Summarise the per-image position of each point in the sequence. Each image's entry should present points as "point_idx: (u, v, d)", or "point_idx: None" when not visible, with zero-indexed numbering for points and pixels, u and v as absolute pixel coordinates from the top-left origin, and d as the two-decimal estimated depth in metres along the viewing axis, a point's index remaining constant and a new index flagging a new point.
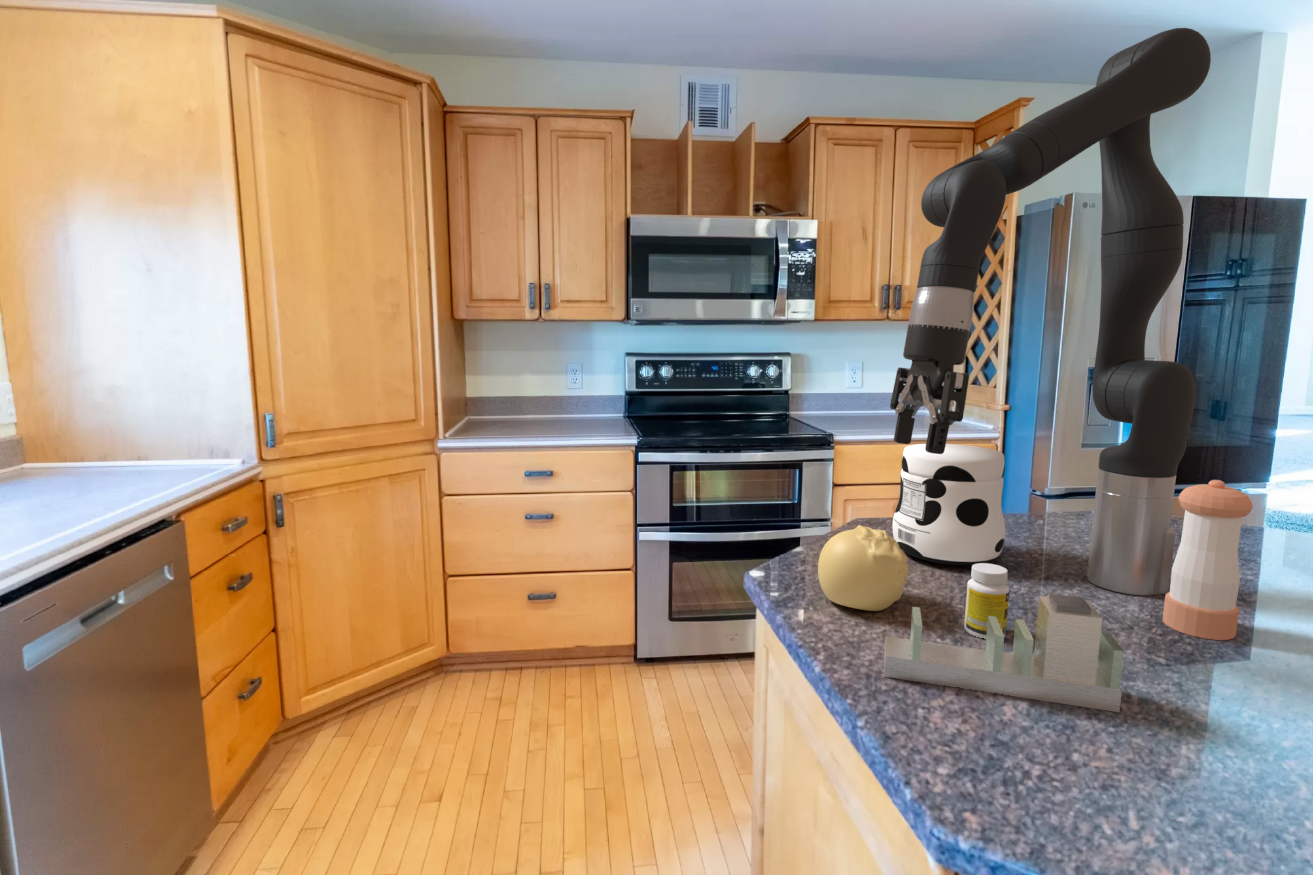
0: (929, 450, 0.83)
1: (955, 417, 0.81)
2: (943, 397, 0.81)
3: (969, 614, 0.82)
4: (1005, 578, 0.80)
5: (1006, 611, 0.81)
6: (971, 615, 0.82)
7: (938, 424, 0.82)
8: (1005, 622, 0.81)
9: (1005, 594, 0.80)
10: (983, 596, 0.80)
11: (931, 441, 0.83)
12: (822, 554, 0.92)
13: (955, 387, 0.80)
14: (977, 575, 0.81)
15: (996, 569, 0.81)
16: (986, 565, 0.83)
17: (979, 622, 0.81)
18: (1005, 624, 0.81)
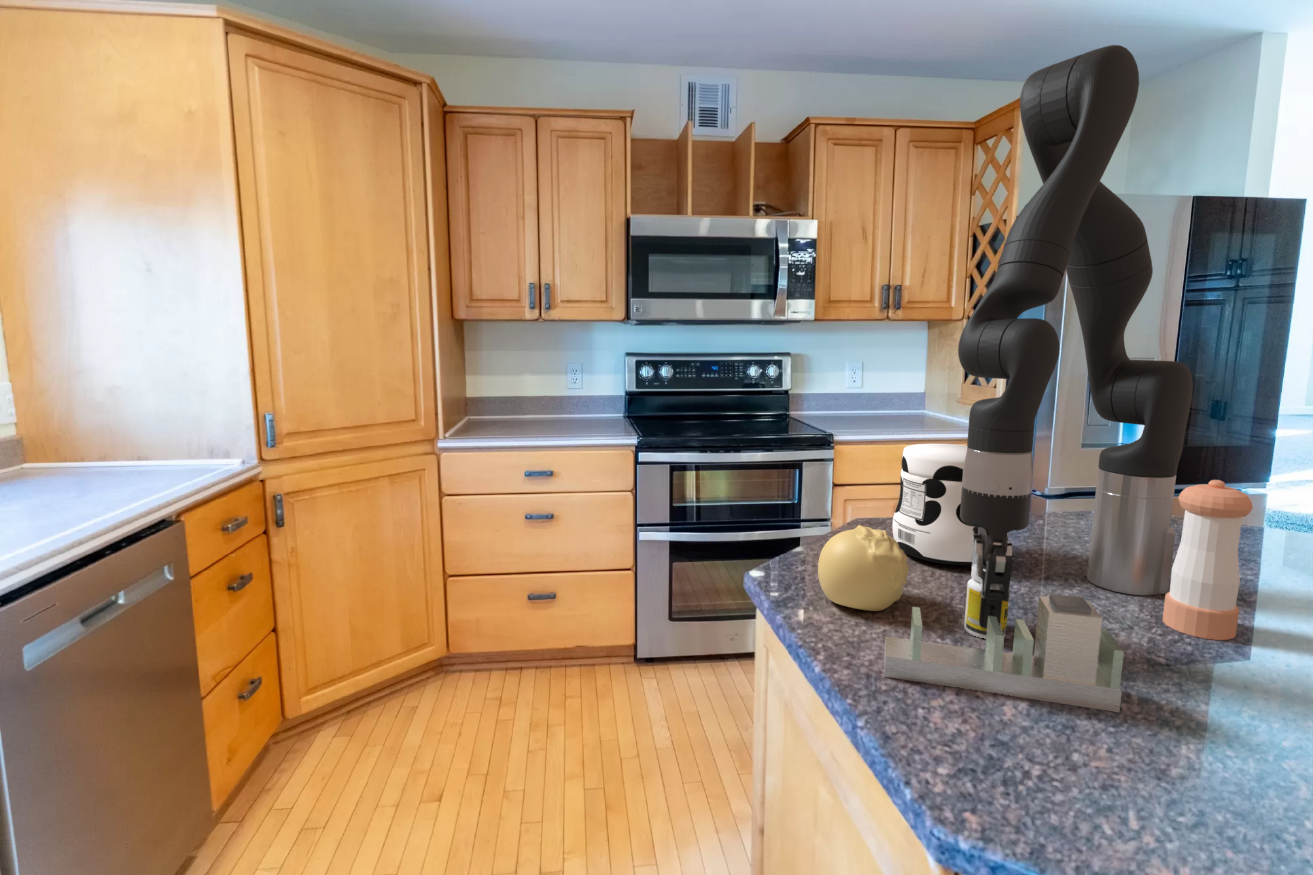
0: (981, 625, 0.80)
1: (998, 598, 0.77)
2: (985, 577, 0.77)
3: (969, 614, 0.82)
4: None
5: (1006, 611, 0.81)
6: (971, 615, 0.82)
7: (986, 600, 0.79)
8: (1005, 622, 0.81)
9: None
10: None
11: (982, 616, 0.80)
12: (822, 554, 0.92)
13: (996, 572, 0.76)
14: None
15: None
16: None
17: None
18: (1005, 624, 0.81)
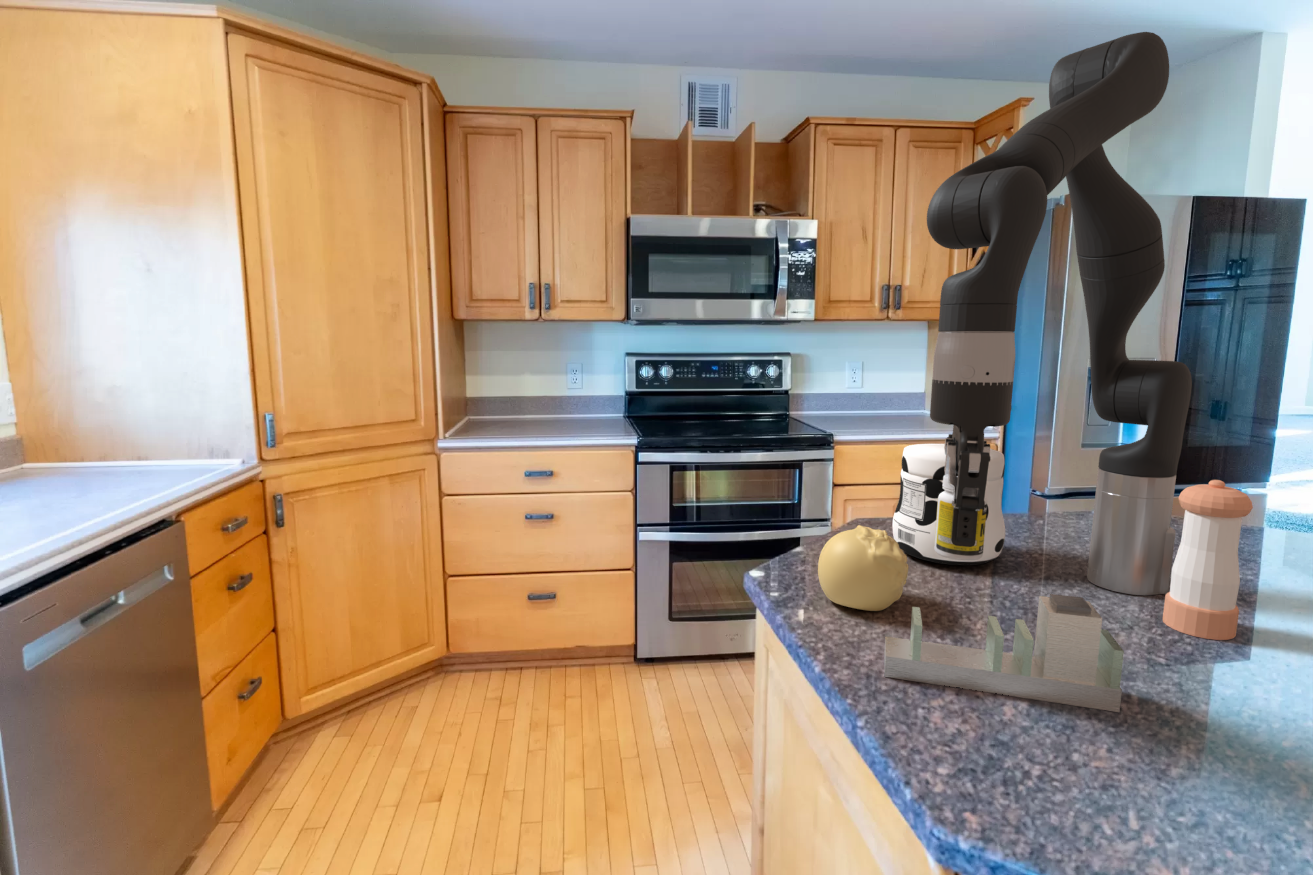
0: (953, 542, 0.68)
1: (972, 506, 0.64)
2: (957, 480, 0.65)
3: (939, 532, 0.70)
4: None
5: (982, 526, 0.68)
6: (941, 533, 0.69)
7: (959, 511, 0.66)
8: (982, 540, 0.68)
9: None
10: None
11: (955, 531, 0.67)
12: (822, 554, 0.92)
13: (969, 472, 0.63)
14: None
15: None
16: None
17: None
18: (982, 542, 0.68)
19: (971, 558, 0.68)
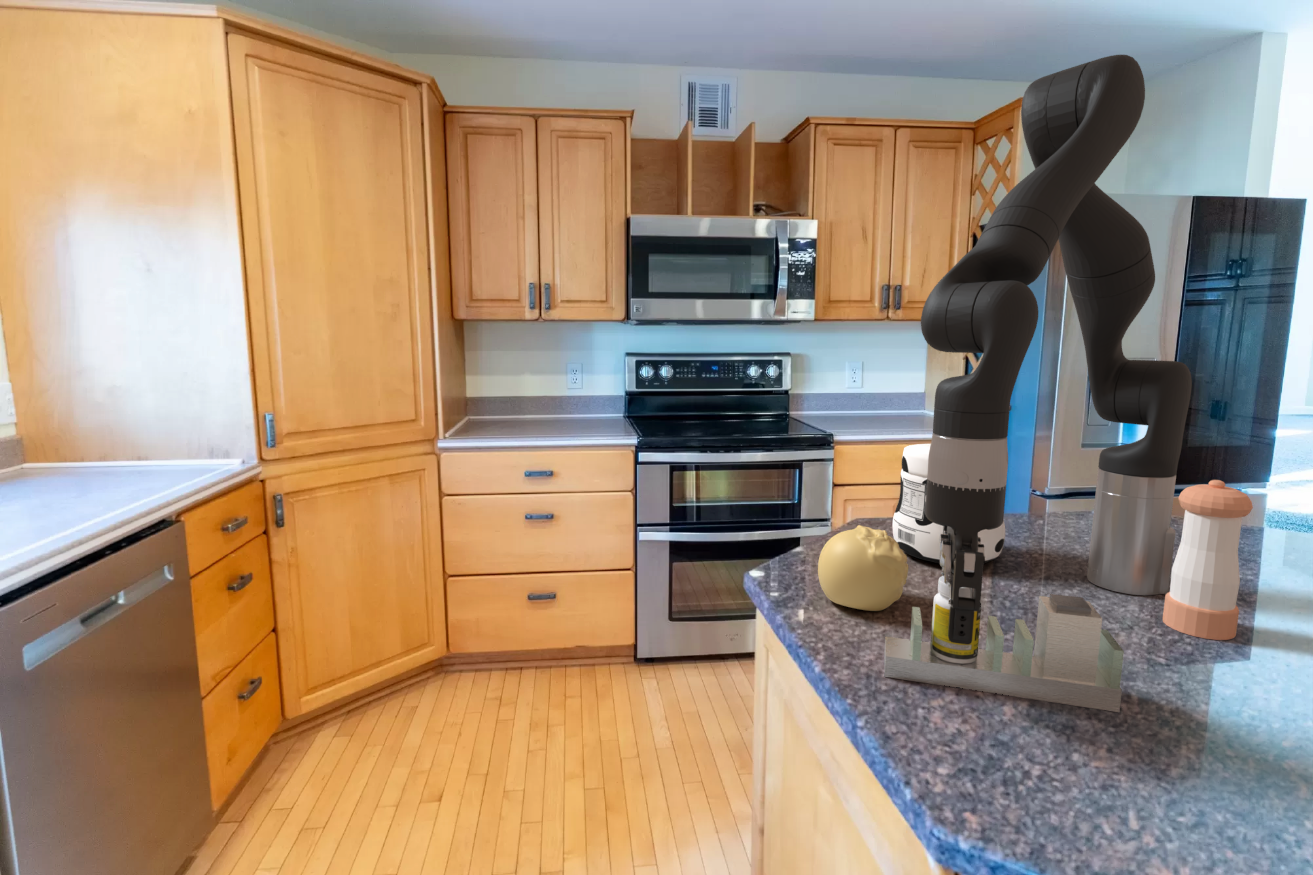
0: (950, 639, 0.68)
1: (969, 607, 0.64)
2: (953, 580, 0.65)
3: (935, 634, 0.72)
4: None
5: (977, 630, 0.70)
6: (937, 635, 0.71)
7: (955, 610, 0.67)
8: (976, 643, 0.70)
9: (976, 612, 0.69)
10: None
11: (951, 628, 0.68)
12: (822, 554, 0.92)
13: (965, 571, 0.64)
14: (944, 589, 0.70)
15: None
16: None
17: (946, 643, 0.70)
18: (976, 646, 0.70)
19: (966, 662, 0.70)
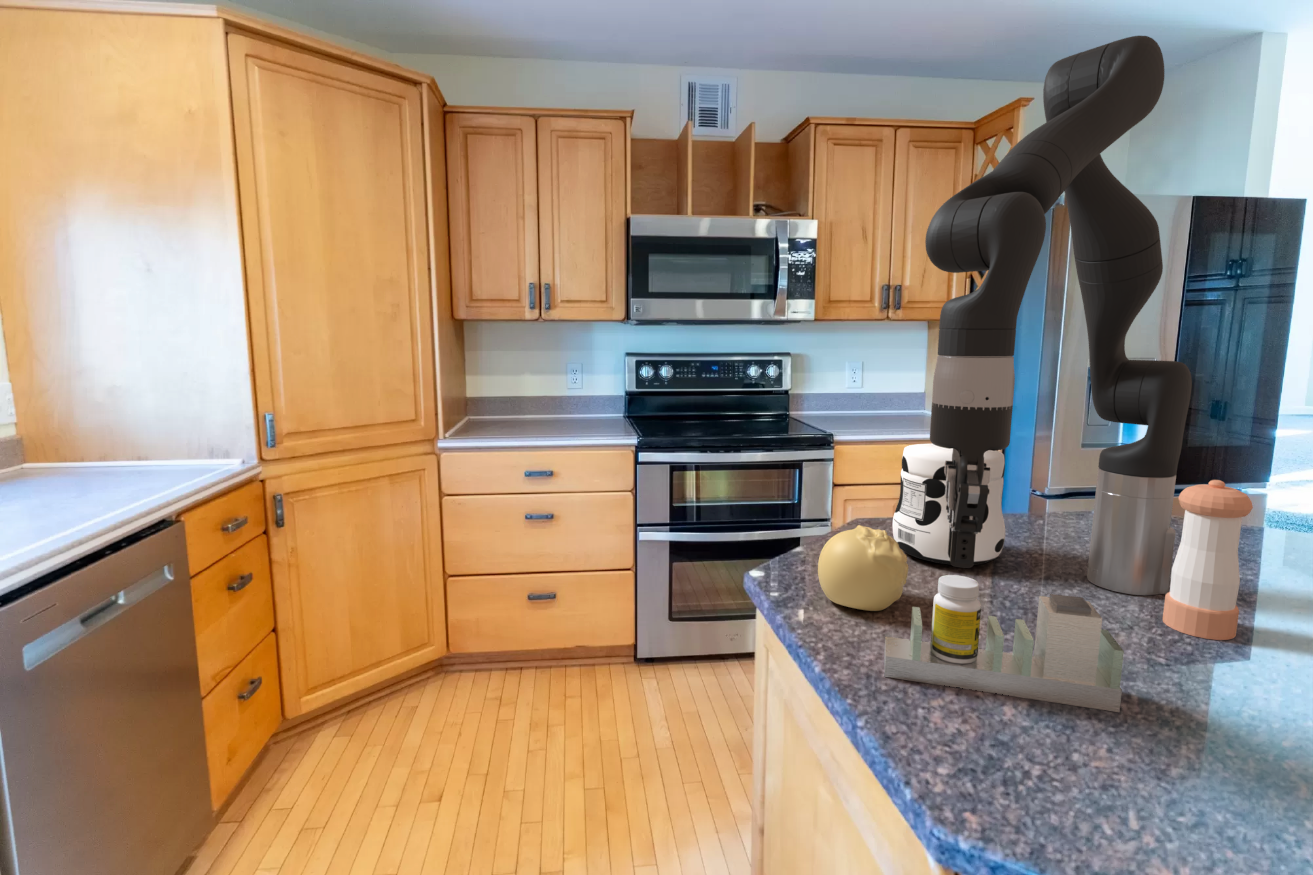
0: (952, 563, 0.69)
1: (970, 530, 0.66)
2: (956, 507, 0.66)
3: (935, 634, 0.72)
4: (976, 593, 0.70)
5: (977, 630, 0.70)
6: (937, 635, 0.71)
7: (957, 533, 0.68)
8: (976, 643, 0.70)
9: (976, 612, 0.69)
10: (951, 613, 0.70)
11: (953, 553, 0.69)
12: (822, 554, 0.92)
13: (968, 503, 0.64)
14: (944, 589, 0.70)
15: (966, 582, 0.71)
16: (955, 577, 0.72)
17: (946, 643, 0.70)
18: (976, 646, 0.70)
19: (966, 661, 0.70)
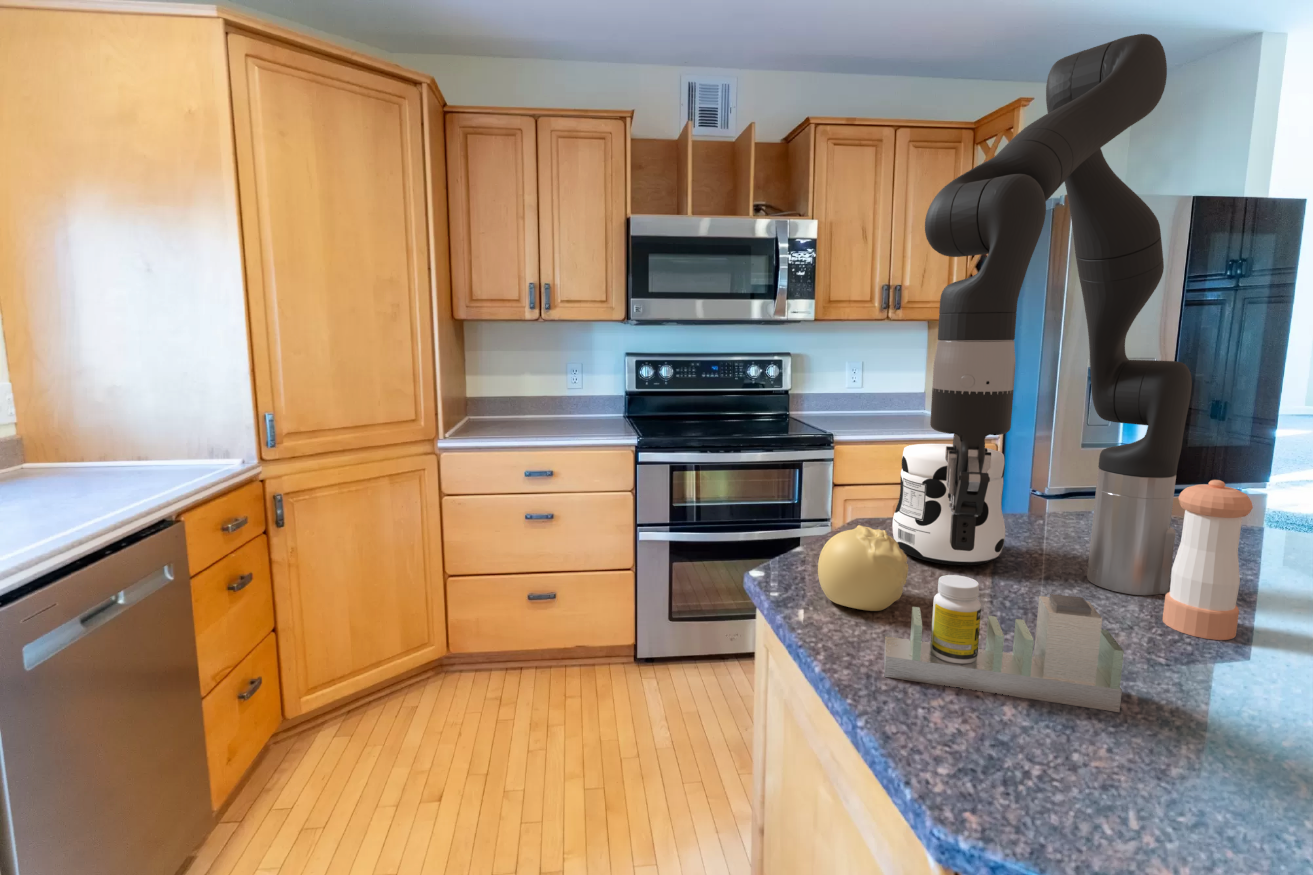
0: (953, 546, 0.70)
1: (970, 513, 0.67)
2: (957, 492, 0.66)
3: (935, 634, 0.72)
4: (976, 593, 0.70)
5: (977, 630, 0.70)
6: (937, 635, 0.71)
7: (958, 517, 0.69)
8: (976, 643, 0.70)
9: (976, 612, 0.69)
10: (951, 613, 0.70)
11: (954, 536, 0.70)
12: (822, 554, 0.92)
13: (968, 491, 0.64)
14: (944, 589, 0.70)
15: (966, 582, 0.71)
16: (955, 577, 0.72)
17: (946, 643, 0.70)
18: (976, 646, 0.70)
19: (966, 661, 0.70)
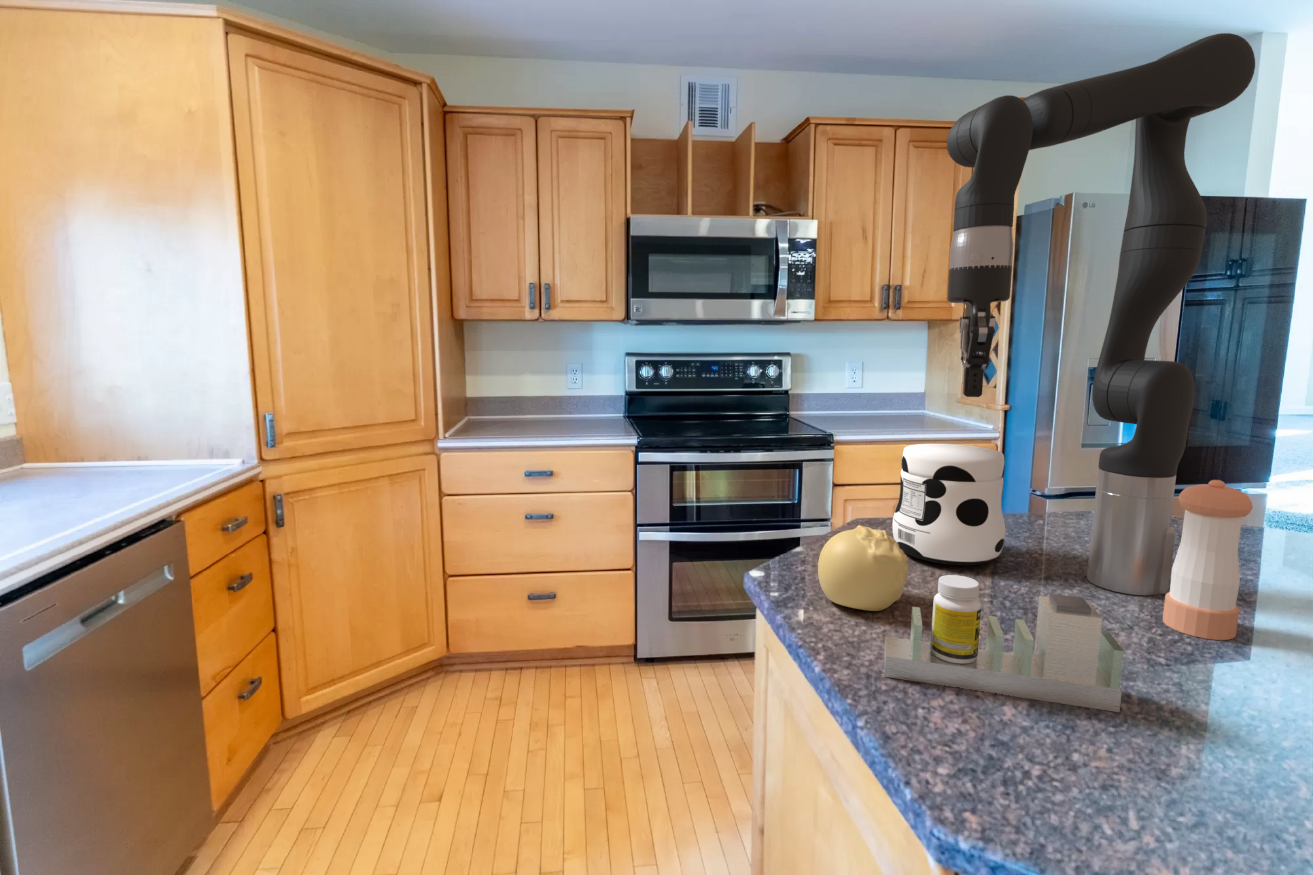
0: (965, 394, 0.90)
1: (979, 363, 0.86)
2: (969, 346, 0.86)
3: (935, 634, 0.72)
4: (976, 593, 0.70)
5: (977, 630, 0.70)
6: (937, 635, 0.71)
7: (969, 369, 0.88)
8: (976, 643, 0.70)
9: (976, 612, 0.69)
10: (951, 613, 0.70)
11: (966, 385, 0.89)
12: (822, 554, 0.92)
13: (978, 342, 0.84)
14: (944, 589, 0.70)
15: (966, 582, 0.71)
16: (955, 577, 0.72)
17: (946, 643, 0.70)
18: (976, 646, 0.70)
19: (966, 662, 0.70)
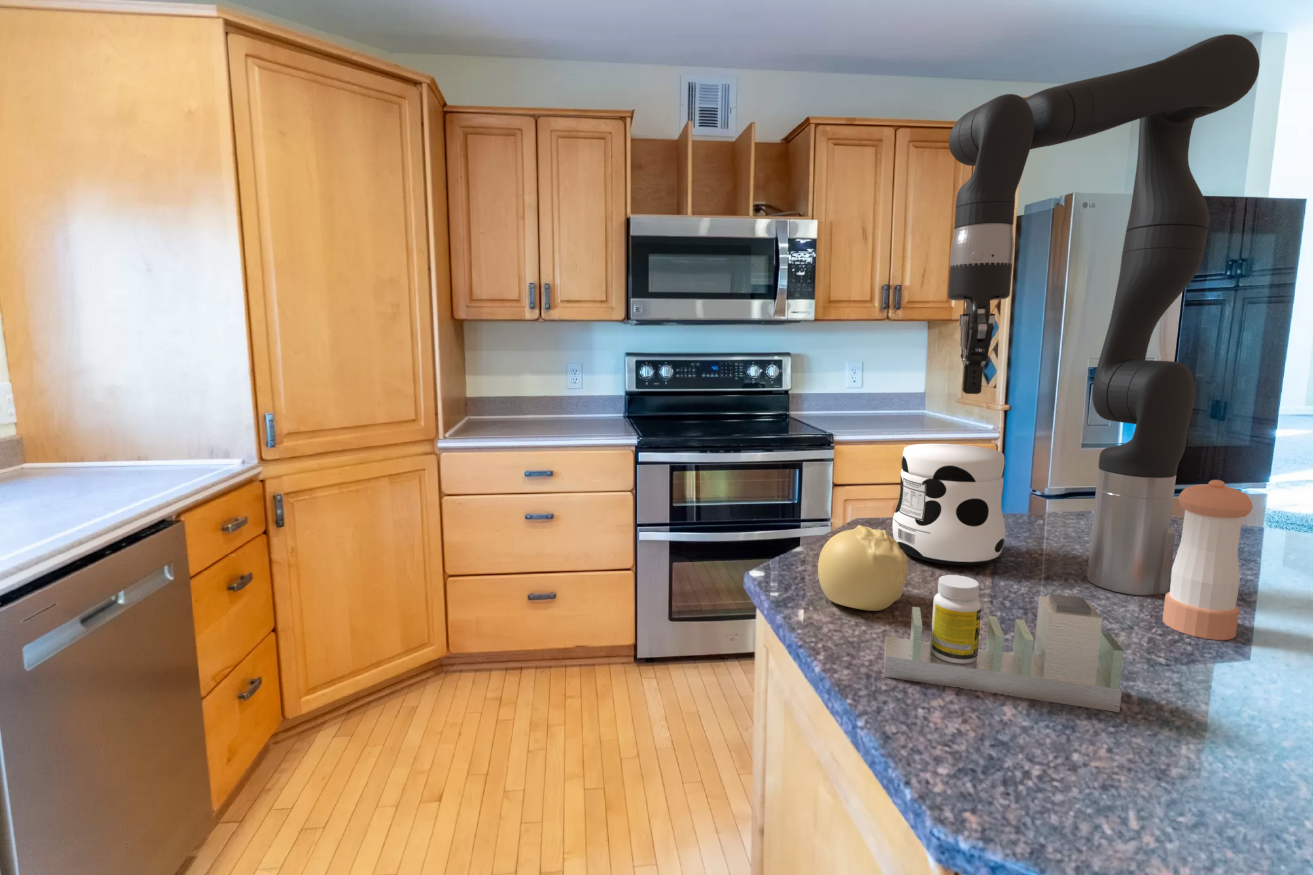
0: (965, 391, 0.90)
1: (978, 360, 0.87)
2: (968, 342, 0.86)
3: (935, 634, 0.72)
4: (976, 593, 0.70)
5: (977, 630, 0.70)
6: (937, 635, 0.71)
7: (969, 366, 0.89)
8: (976, 643, 0.70)
9: (976, 612, 0.69)
10: (951, 613, 0.70)
11: (965, 382, 0.90)
12: (822, 554, 0.92)
13: (977, 338, 0.85)
14: (944, 589, 0.70)
15: (966, 582, 0.71)
16: (955, 577, 0.72)
17: (946, 643, 0.70)
18: (976, 646, 0.70)
19: (966, 661, 0.70)
